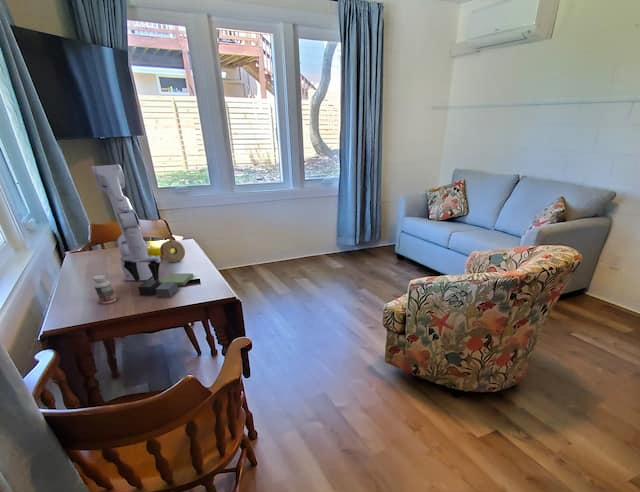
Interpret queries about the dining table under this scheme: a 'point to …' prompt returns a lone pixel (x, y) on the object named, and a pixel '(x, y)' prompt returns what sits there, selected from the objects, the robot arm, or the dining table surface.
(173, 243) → the stone disc
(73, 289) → the dining table surface
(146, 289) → the black rectangular block
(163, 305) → the dining table surface
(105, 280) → the pill bottle
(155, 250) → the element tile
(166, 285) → the grey block
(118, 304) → the dining table surface
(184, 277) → the base pad
